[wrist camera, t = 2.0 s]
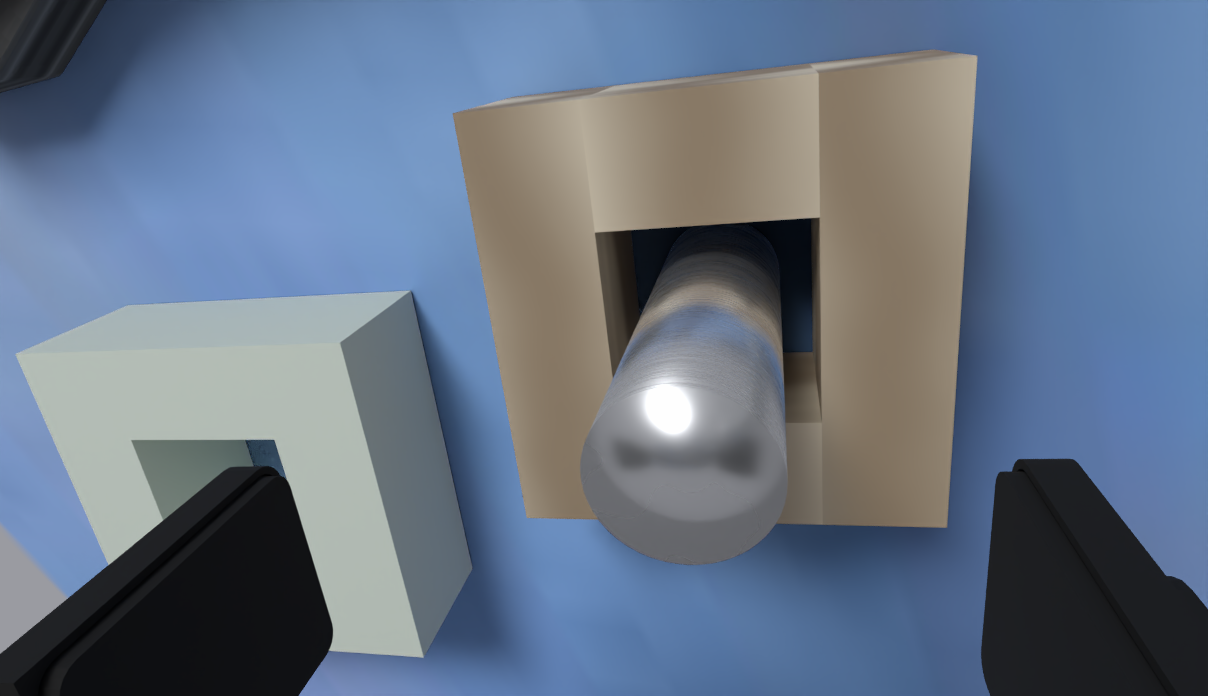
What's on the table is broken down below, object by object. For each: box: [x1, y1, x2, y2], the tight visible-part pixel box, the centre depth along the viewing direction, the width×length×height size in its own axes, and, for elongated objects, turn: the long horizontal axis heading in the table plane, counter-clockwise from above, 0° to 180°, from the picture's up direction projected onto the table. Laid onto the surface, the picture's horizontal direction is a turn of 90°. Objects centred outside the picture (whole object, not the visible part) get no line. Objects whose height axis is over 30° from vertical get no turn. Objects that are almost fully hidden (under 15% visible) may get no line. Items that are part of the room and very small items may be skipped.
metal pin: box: [580, 223, 788, 565], centre depth 15 cm, size 3×3×10 cm
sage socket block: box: [16, 291, 473, 657], centre depth 23 cm, size 10×10×4 cm
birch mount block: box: [453, 50, 977, 528], centre depth 18 cm, size 10×10×4 cm
